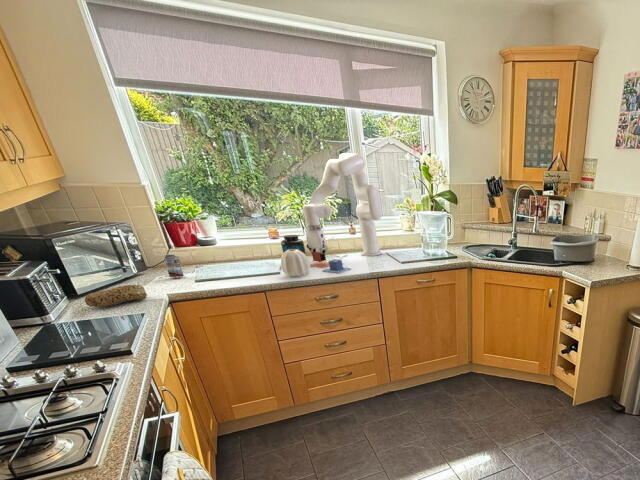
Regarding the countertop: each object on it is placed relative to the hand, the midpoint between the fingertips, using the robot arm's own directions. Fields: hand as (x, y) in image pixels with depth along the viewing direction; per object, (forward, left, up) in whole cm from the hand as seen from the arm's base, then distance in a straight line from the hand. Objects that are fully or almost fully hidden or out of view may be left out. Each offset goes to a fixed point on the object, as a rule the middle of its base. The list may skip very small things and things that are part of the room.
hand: (319, 259), depth 245 cm
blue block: (+7, +17, -3) cm, 19 cm away
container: (+4, -14, -3) cm, 15 cm away
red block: (0, 0, 0) cm, 0 cm away
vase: (+24, +5, -3) cm, 25 cm away
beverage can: (+52, -47, -3) cm, 70 cm away
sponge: (+91, -29, -3) cm, 95 cm away
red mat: (0, 0, -3) cm, 3 cm away
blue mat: (+7, +17, -3) cm, 19 cm away
